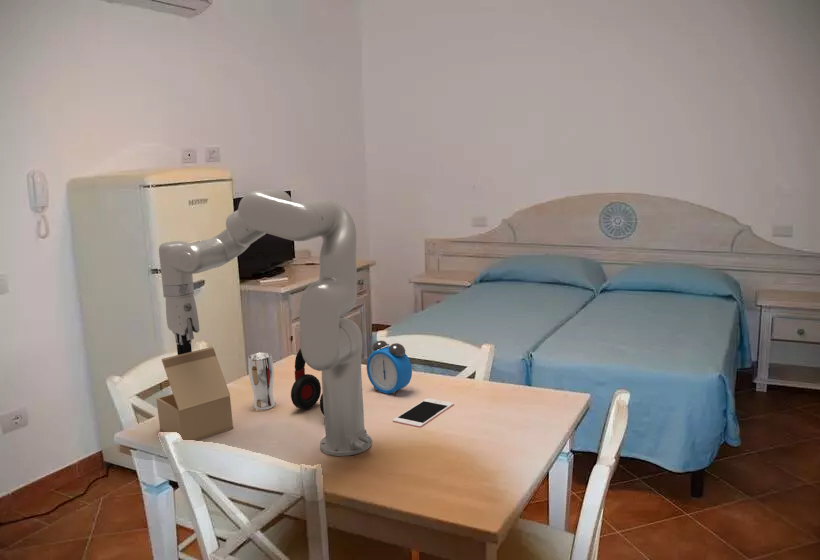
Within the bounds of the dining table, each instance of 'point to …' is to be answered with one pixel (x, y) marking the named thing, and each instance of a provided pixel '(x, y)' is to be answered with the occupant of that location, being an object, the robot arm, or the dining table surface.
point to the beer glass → (261, 380)
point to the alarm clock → (388, 367)
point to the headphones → (305, 387)
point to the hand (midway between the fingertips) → (185, 358)
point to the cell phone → (423, 412)
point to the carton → (195, 418)
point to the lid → (195, 378)
